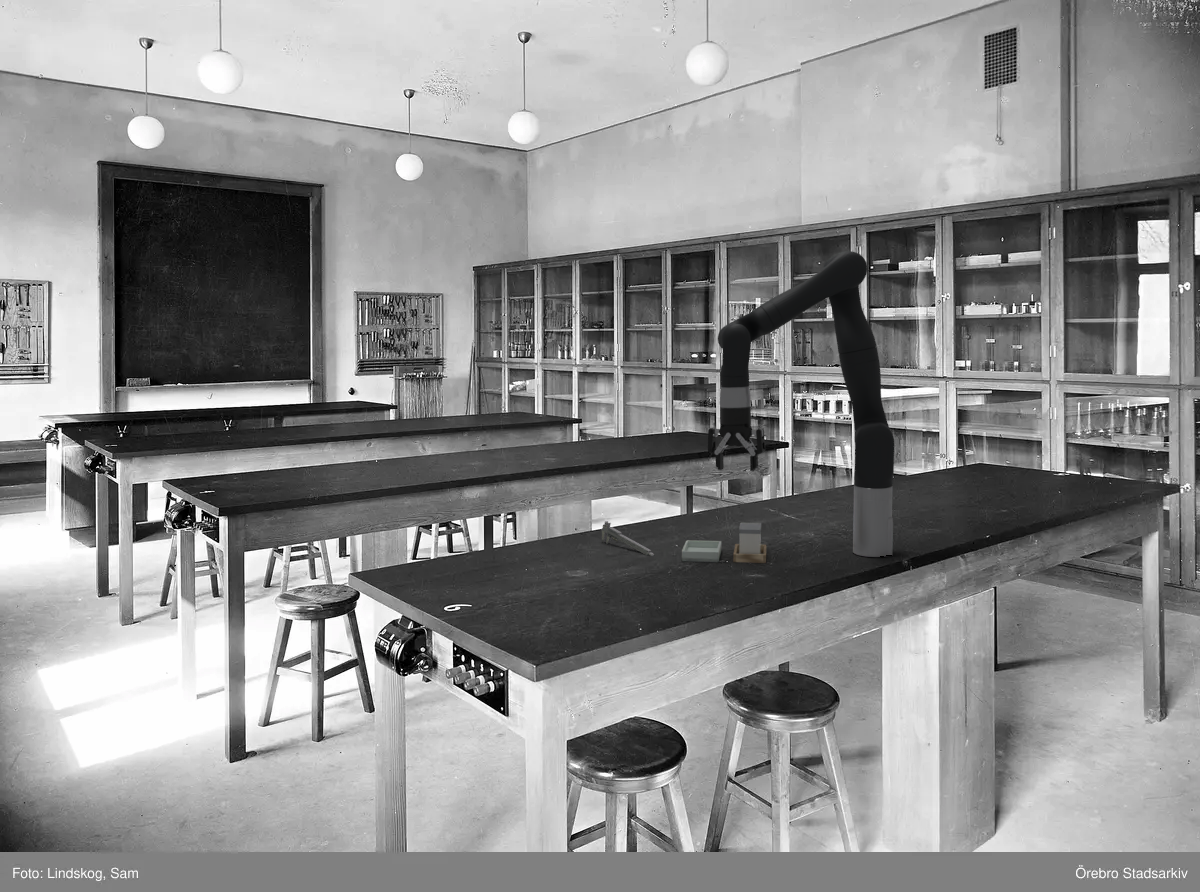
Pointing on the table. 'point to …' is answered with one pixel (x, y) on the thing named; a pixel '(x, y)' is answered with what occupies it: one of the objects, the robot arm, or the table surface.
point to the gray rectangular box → (750, 538)
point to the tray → (701, 551)
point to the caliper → (621, 539)
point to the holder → (750, 556)
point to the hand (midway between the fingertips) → (736, 469)
